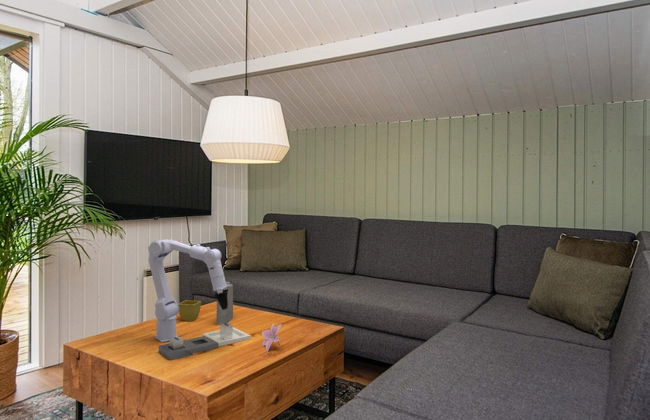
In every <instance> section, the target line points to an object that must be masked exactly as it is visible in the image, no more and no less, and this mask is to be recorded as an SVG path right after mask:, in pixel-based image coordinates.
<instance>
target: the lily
mask: <svg viewBox="0 0 650 420" xmlns="http://www.w3.org/2000/svg"><path fill="white" fill-rule="evenodd" d="M281 327H282V324H279V325H276V326H275V323H274V322H273V323H272V325H271V327H270V329H266V330H263V331H262V332H261V335H262V337H263V339H264V340H263V342H262V343H261V346H262V347H264V346H265V350H266V352H269V350H270V348H271V345H272V343H273V342H277V343H278V345H279V346H281V344H280V342H279V341H280V339H279V337H278V332H279V330H280V329H281Z"/></svg>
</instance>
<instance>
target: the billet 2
mask: <svg viewBox="0 0 650 420" xmlns="http://www.w3.org/2000/svg"><path fill="white" fill-rule="evenodd" d="M233 326H234V325H233V324H232V323H230V322H228V323H224V324H220V325H219V330H220V338H222V339H223V340H227V339H231V338H233Z"/></svg>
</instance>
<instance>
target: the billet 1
mask: <svg viewBox="0 0 650 420" xmlns="http://www.w3.org/2000/svg"><path fill="white" fill-rule="evenodd" d="M183 340H184V338H183V337H181V336H178V337H174V338H170V341H169V343H170V349H171V350H176V349H180V348H183Z"/></svg>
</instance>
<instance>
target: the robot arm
mask: <svg viewBox="0 0 650 420" xmlns="http://www.w3.org/2000/svg"><path fill="white" fill-rule="evenodd" d="M147 249H148V253H149V254H148V264H149V268H150V272H151V276H152V280H153V281H152V282H153V285H154V288H155V292H156V297H157V301H156V302H155V304H154V306H155V310H154V314H155V317H156V318H157V320H156V325H155V326H156V331H155V332H156V335H154V336H153V337H154V338H155V339H157V340H158V341H159V342H161V343H165V342H166V343H167V342H170V338H174V337H179V336H178V335H177V315H178V313H179V306H178V304H179V303H177V301H176V298H175V297H174V296H172V295H171V291H170V286H169V283H168V279H167V275H166V271H165V267H164V262H163V261H164V260H165V258H166V257H167V256H168V255H170V254H171V253H173V251H176V252H179V253H180V252H181V253H185V254H189V257H190V258H193V259H196V260H199V261H203V263H205V264H206V267H207V270H208V272H209V277H210V281H211V285H212V291H213V292H215V293H214V294H213V296H214V297H215V299H216V301H217V300H218V302H219V304H220V306H221V308H222V310H224V309H227V306H228V299H227V294H228V289H226V290H224V288H226V287H228V286H230V285H226V282H227V281H226V277H225V273H224V270H223V267H222V262H221V259H222V252H221V251H220V249H217V248H212V249H211V248H210V246H206V247H204V246H202V245H201V244H200V243H197V244H193V245H192V246H191V245H188V244H186V243H182V242H180V241H178V240H175V239H170V238H166V239H159V240H153V241H152V242H151V243H150V244H149V246H148V247H147Z"/></svg>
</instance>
